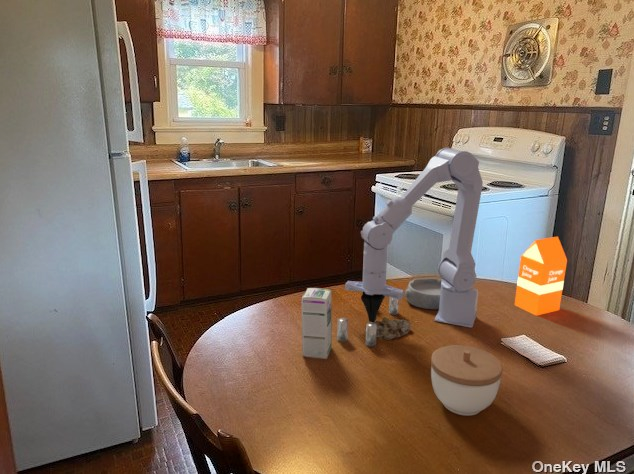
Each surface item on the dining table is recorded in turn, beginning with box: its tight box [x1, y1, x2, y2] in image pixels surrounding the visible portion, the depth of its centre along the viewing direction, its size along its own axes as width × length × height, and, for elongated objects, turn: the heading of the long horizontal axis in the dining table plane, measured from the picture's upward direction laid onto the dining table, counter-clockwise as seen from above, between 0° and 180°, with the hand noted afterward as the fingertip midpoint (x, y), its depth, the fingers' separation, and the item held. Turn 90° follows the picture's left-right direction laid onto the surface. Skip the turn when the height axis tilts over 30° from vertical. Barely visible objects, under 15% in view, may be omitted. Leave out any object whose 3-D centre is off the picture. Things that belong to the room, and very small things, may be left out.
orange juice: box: [514, 236, 568, 316], centre depth 131 cm, size 8×9×20 cm
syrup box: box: [300, 287, 333, 360], centre depth 108 cm, size 6×6×14 cm
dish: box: [404, 277, 442, 310], centre depth 138 cm, size 14×14×5 cm
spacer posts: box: [336, 297, 400, 348], centre depth 123 cm, size 9×22×5 cm, turn 155°
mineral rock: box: [372, 317, 412, 341], centre depth 119 cm, size 11×4×8 cm
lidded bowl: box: [430, 344, 503, 417], centre depth 90 cm, size 13×13×11 cm
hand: (372, 320), depth 123 cm, fingers closed
